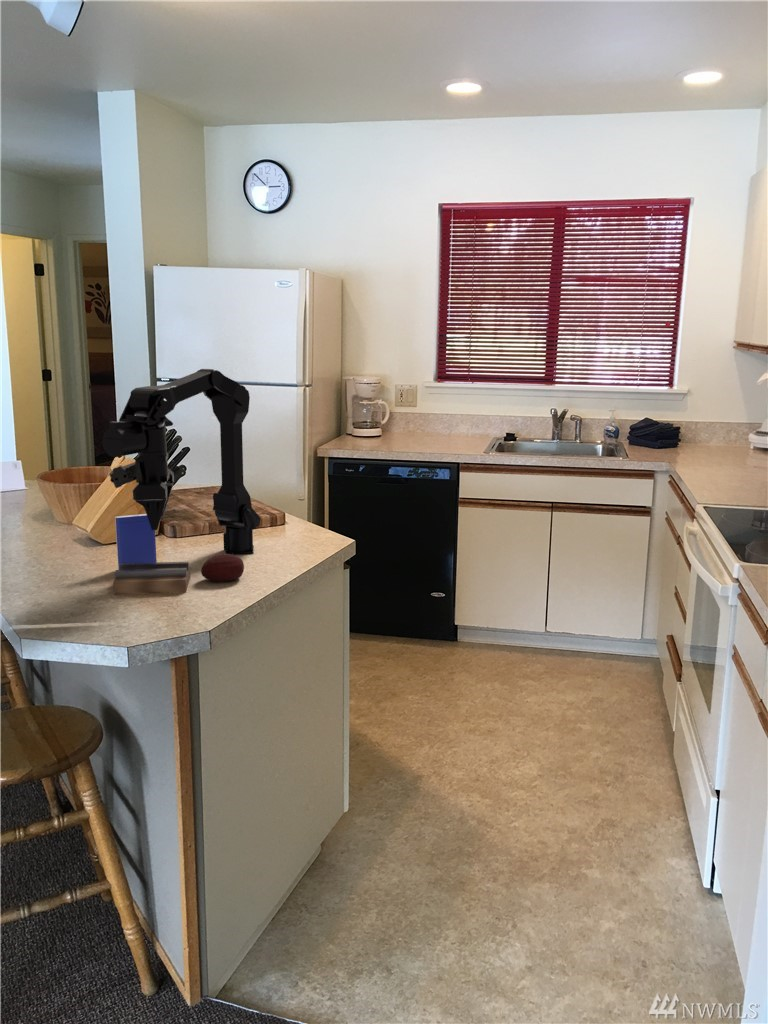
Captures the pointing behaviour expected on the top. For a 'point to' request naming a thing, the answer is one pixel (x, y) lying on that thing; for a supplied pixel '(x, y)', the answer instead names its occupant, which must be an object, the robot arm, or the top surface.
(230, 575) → the potato
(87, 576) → the top surface
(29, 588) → the top surface
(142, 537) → the hard drive
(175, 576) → the drive stand
